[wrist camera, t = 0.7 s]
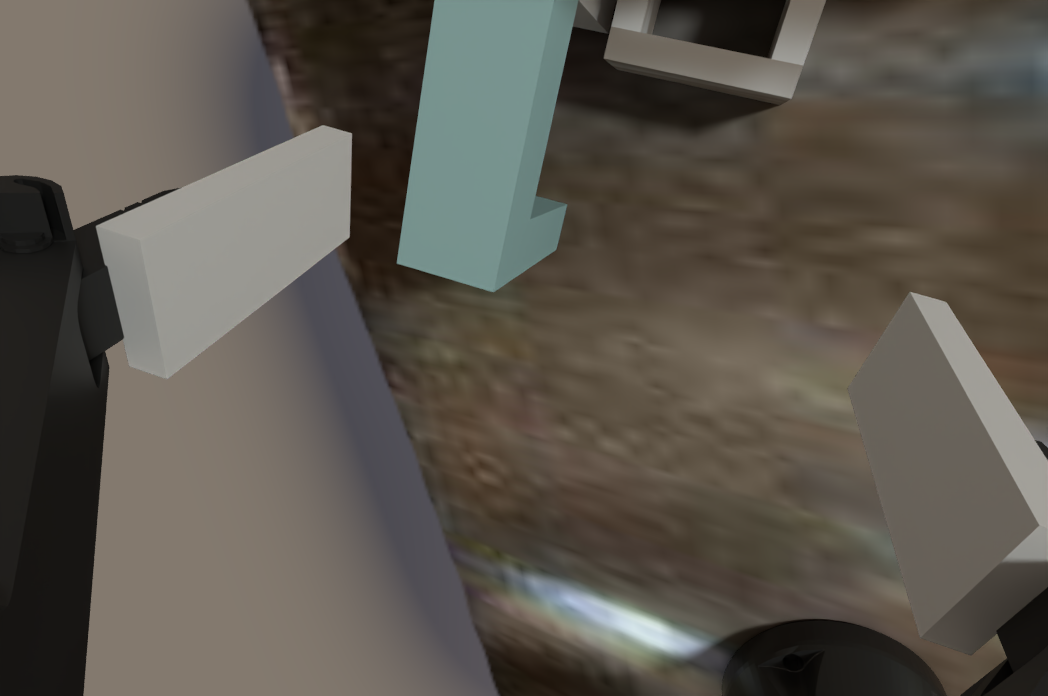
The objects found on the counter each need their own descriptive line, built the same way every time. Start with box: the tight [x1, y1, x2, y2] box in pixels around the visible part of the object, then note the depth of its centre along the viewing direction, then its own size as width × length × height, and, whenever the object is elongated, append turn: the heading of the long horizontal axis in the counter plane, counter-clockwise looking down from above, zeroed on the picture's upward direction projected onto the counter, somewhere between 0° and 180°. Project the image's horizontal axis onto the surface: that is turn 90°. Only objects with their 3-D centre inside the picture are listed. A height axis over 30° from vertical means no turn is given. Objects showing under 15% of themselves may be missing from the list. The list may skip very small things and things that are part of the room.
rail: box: [397, 0, 616, 292], centre depth 32 cm, size 16×5×13 cm, turn 167°
